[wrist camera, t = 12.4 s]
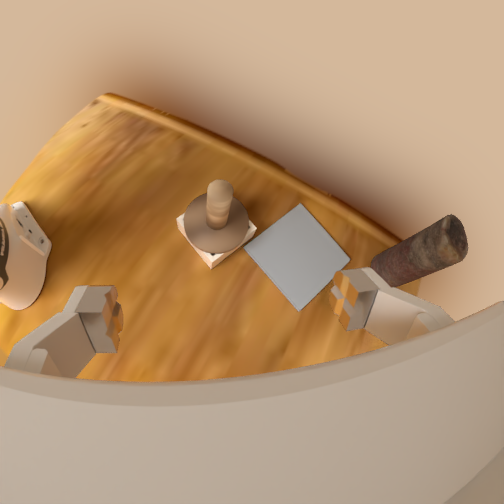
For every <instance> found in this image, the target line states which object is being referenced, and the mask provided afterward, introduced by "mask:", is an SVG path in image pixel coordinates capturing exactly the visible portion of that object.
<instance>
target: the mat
mask: <svg viewBox="0 0 504 504" xmlns="http://www.w3.org/2000/svg"><path fill="white" fill-rule="evenodd" d="M244 249H245V251H246V252H247V253H248V254H249V255H250V256H251V257H252V259H253V260H254V261H255V262H256V263H257V264H258V266H259V267H260V268H261V269H262V270H263V271H264V272H265V274H266V275H267V276H268V277H269V278H270V279H271V281H272V282H273V283H274V284H275V285H276V286H277V287H278V289H279V290H280V291H281V292H282V293H283V294H284V296H285V297H286V298H287V299H288V300H289V301H290V302H291V304H292V305H293V306H294V307H295V308H296V309H297V310H298V312H299V311H300V310H301V309H302V308H303V307H304V306H306V305H307V304H308V303H309V302H310V301H311V300H312V299H313V298H314V297H315V296H316V295H317V294H318V293H319V292H320V291H321V290H322V289H323V288H324V287H325V286H326V285H327V284H328V283H329V282H330V281H331V280H332V279H333V277H334V274H335V272H336V271H340V270H341V269H342V268H343V267H344V266H345V265H346V264H347V263H348V262H349V261H350V259H349V257H348V256H347V255H346V254H345V253H344V251H343V250H342V249H341V248H340V247H339V246H338V244H337V243H336V242H335V241H334V240H333V239H332V237H331V236H330V235H329V234H328V233H327V232H326V231H325V230H324V228H323V227H322V226H321V225H320V224H319V223H318V222H317V221H316V219H315V218H314V217H313V216H312V215H311V214H310V213H309V212H308V211H307V210H306V208H305V207H304V206H303V205H302V204H301V203H300V204H299V205H298V206H296V207H295V208H294V209H292V210H291V211H290V212H288V213H287V214H286V215H284V216H283V217H282V218H281V219H279V220H278V221H277V222H275V223H274V224H273V225H272V226H270V227H269V228H268V229H266V230H265V231H264V232H262V233H261V234H260V235H259V236H257V237H256V238H255V239H253V240H252V241H251V242H250V243H248V244H247V245H246V246H244Z"/></svg>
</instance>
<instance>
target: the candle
mask: <svg viewBox="0 0 504 504" xmlns="http://www.w3.org/2000/svg"><path fill="white" fill-rule="evenodd" d="M467 251H468V243H467V238H466V234H465V230H464V227H463V225H462V223H461V221H460V220H459V219H458V218H457V217H456V216H454V215H452V214H451V215H447V216H445V217H444V218H442V219H441V220H439V221H437V222H436V223H434V224H432V225H431V226H429V227H427V228H425V229H424V230H422V231H420V232H418V233H417V234H415V235H413V236H412V237H409V238H408V239H406V240H404V241H402V242H400V243H399V244H397V245H395V246H393V247H391V248H389V249H387V250H385V251H384V252H382V253H380V254H378V255H376V256H375V257H374V258H373V260H372V262H371V268H372V269H373V270H374V271H375V272H376V273H377V274H378V275H379V276H380V277H381V278H382V279H383V280H384V281H385V282H386V283H387V284H388V285H389V286H390V287H391V288H392V287H398V286H400V285H403V284H406V283H408V282H411V281H414V280H416V279H419V278H421V277H424V276H426V275H429V274H431V273H434V272H436V271H439V270H442V269H444V268H446V267H449V266H451V265H454V264H456V263H458V262H461V261H462V260H463V259H464V258H465V256H466V255H467Z"/></svg>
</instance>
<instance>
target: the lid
mask: <svg viewBox="0 0 504 504" xmlns="http://www.w3.org/2000/svg"><path fill="white" fill-rule="evenodd" d="M233 191H234V190H233V187H232V185H231V184H230V183H229V182H228V181H226V180H221V179H220V180H215V181H213V182H211V183H210V184H209V186H208V189H207V193H206V194H203V195H201V196H199V197H197V198H196V199H194V200H193V201H192V202H191V203H190V205H189V206H188V207H187V209H186V212H185V215H184V229H185V233H186V236H187V238H188V239H189V241H190V242H191V243H192V244H193V245H194V246H195V247H196V248H198V249H199V250H201V251H204V252H206V253H211V254H222V253H226V252H229V251H231V250H233V249H235V248H236V247H238V246H239V245H240V244H241V243H242V241H243V240H244V238H245V236H246V234H247V231H248V228H249V217H248V213H247V211H246V209H245V207H244V206H243V204H242V203H241V202H240V201H239V200H237V199H236V198H235V197H233Z"/></svg>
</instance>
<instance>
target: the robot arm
mask: <svg viewBox="0 0 504 504" xmlns="http://www.w3.org/2000/svg"><path fill="white" fill-rule="evenodd" d="M43 241H44V242H43ZM42 242H43V243H42ZM51 247H52V244H51V241H50V240H49V239H48V237H47V236H46V234H45V233H44V232H43V230H42V229H41V227H40V226H39V225H38V223H37V222H36V220H35V219H34V217H33V216H32V214H31V213H30V211H29V210H28V208H27V206H26V205H25V204H24V203H23V202H17V203H14V204H13V205H11V206H10V205H9V204H1V205H0V303H3V304H5V305H6V306H8V307H10V308H11V309H14V310H22V309H25V308H27V307H28V306H30V305H31V304H32V303H33V302H34V301H35V299H36V298H37V297H38V295H39V293H40V291H41V289H42V286H43V283H44V279H45V273H46V262H47V258H48V256H49V253H50V250H51ZM333 282H334V284H335V285H334V287H333V288H332V289H331V290H330V295H329V303H330V307H331V309H332V311H333V312H334V313H335V314H337V315H339V316H340V317H339V321H340V323H341V324H342V326H343V327H344V329H345V330H346V331H350V330H356V329H361V328H364V329H365V330H367V331H368V332H370V333H371V334H373V335H374V336H376V337H377V338H379V339H380V340H382V341H383V342H385V343H386V344H388V345H389V346H387V347H383V348H380V349H377V350H373V351H370V352H366V353H362V354H358V355H355V356H351V357H346V358H342V359H338V360H334V361H329V362H325V363H320V364H315V365H310V366H305V367H300V368H294V369H289V370H283V371H277V372H270V373H263V374H256V375H249V376H240V377H231V378H221V379H209V380H194V381H172V382H124V381H102V380H88V379H77V378H76V376H77V375H78V374H79V373H80V372H81V371H82V369H83V368H84V367H85V366H86V365H87V364H88V362H89V361H90V360H91V359H92V358H93V357H94V356H95V354H96V353H117V351H118V346H119V341H120V338H119V335H118V334H119V333H120V332H121V331H122V328H123V312H122V308H121V305H120V304H119V303H118V302H117V301H116V300H117V297H118V294H117V290H116V287H115V286H114V285H90V286H89V285H82V286H76V287H75V289H74V291H73V292H72V294H71V296H70V298H69V300H68V302H67V304H66V306H65V308H64V310H63V311H62V313H57V314H56V315H54V316H53V317H51V318H50V319H49V320H47V321H46V322H44V323H43V324H42V325H40V326H39V327H37V328H36V329H35V330H33V331H32V332H31V333H29V334H28V335H27V336H25V337H24V338H23V339H21V340H20V341H19V342H17V343H16V344H15V345H14V347H13V349H12V351H11V353H10V355H9V357H8V359H7V361H6V364H5V366H4V367H3V366H0V504H504V301H500V302H497V303H495V304H494V305H491V306H490V307H487V308H485V309H483V310H481V311H479V312H477V313H475V314H472V315H470V316H468V317H466V318H463V319H461V320H459V321H456V322H455V321H454V320H453V319H452V318H451V317H450V316H449V315H448V314H447V313H446V312H445V311H444V310H443V309H442V308H441V307H440V306H437V305H435V304H432V303H430V302H428V301H425V300H423V299H421V298H419V297H416V296H414V295H411V294H409V293H407V292H404V291H402V290H399V289H397V288H395V287H392V288H391V287H390V286H389V285H388V284H387V283H386V282H385V281H384V280H383V279H382V278H381V277H380V276H379V275H378V274H377V273H376V272H375V271H374V270H373V269H372V268H370V267H364V268H358V269H350V270H342V271H336V272H335V274H334V277H333Z"/></svg>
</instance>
